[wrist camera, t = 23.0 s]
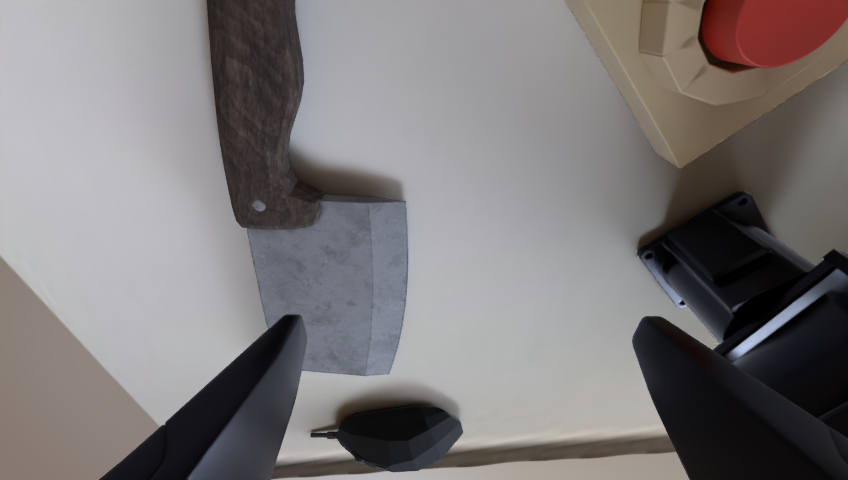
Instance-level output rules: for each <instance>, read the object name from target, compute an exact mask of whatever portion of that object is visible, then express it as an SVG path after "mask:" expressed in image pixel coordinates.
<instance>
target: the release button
mask: <svg viewBox="0 0 848 480" xmlns="http://www.w3.org/2000/svg"><path fill="white" fill-rule="evenodd" d="M847 18H848V0H708V2H707V5H706V8H705V11H704V15H703V21H702V35H703V40H704V43H705V45H706V47H707V49H708V50H709V51H710V52H711V54H712V55H714V56H715V57H717V58H719V59H721V60H724V61H728V62H733V63H739V64H744V65H749V66H754V67H760V68H775V67H780V66H784V65H787V64H790V63H793V62H795V61H798V60H800V59H801V58H803V57H805V56H807V55H809V54H810V53H812V52H813V51H815V50H816V49H817V48H819V47H820V46H822V45H823V44H824V43H825V42H826V41H827V40H829V39H830V38H831V37H832V36H833V35H834V34H835V33H836V32H837V31H838V29H839V28H840V27H841V26H842V25H843V24H844V22H845V21H846V20H847Z"/></svg>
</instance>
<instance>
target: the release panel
mask: <svg viewBox="0 0 848 480" xmlns="http://www.w3.org/2000/svg"><path fill="white" fill-rule="evenodd" d="M565 2H566V3H567V5H568V7H569V8H570V10H571V12H572V13H573V15H574V17H575V18H576V20H577V22H578V23H579V25H580V27H581V28H582V30H583V32H584V33H585V35H586V37H587V38H588V40H589V42H590V43H591V45H592V47H593V48H594V50H595V52H596V53H597V55H598V57H599V58H600V60H601V62H602V63H603V65H604V67H605V68H606V70H607V72H608V73H609V75H610V77H611V78H612V80H613V82H614V83H615V85H616V87H617V88H618V90H619V92H620V94H621V95H622V97H623V99H624V100H625V102H626V104H627V105H628V107H629V109H630V110H631V112H632V114H633V115H634V117H635V119H636V120H637V122H638V124H639V125H640V127H641V129H642V130H643V132H644V134H645V135H646V137H647V139H648V140H649V142H650V144H651V145H652V147H653V149H654V150H655V152H656V153H657V154H658V155H660V156H661V157H663V158H665V159H666V160H668V161H669V162H671V163H672V164H674V165H675V166H677V167H679V168H682V167H684V166H685V165H687V164H688V163H690V162H692V161H693V160H695V159H696V158H698V157H699V156H701V155H702V154H704V153H705V152H707V151H709V150H710V149H712V148H713V147H715V146H716V145H718V144H719V143H721V142H722V141H724V140H726V139H727V138H729V137H730V136H732V135H733V134H735V133H736V132H738V131H739V130H741V129H743V128H744V127H746V126H747V125H749V124H750V123H752V122H753V121H755V120H756V119H758V118H760V117H761V116H763V115H764V114H766V113H767V112H769V111H770V110H772V109H773V108H775V107H777V106H778V105H780V104H781V103H783V102H784V101H786V100H787V99H789V98H790V97H792V96H794V95H795V94H797V93H798V92H800V91H801V90H803V89H804V88H806V87H807V86H809V85H811V84H812V83H814V82H815V81H817V80H818V79H820V78H821V77H823V76H824V75H826V74H828V73H829V72H831V71H832V70H834V69H835V68H837V67H838V66H840V65H841V64H843V63H845V62H846V61H848V18H847V20H846V21H845V22H844V24H843V25H842V26H841V27H840V28H839V29H838V31H837V32H836V33H835V34H834V35H833V36H832V37H831V38H830V39H829V40H827V41H826V42H825V43H824V44H823V45H822V46H820V47H819V48H817V49H816V50H815V51H813V52H812V53H810V54H809V55H807V56H805V57H803V58H801V59H800V60H798V61H795V62H793V63H790V64H787V65H784V66H780V67H775V68H760V67H754V66H749V65H744V64H739V63H733V62H728V61H724V60H721V59H719V58H717V57H715V56H714V55H712V54H711V52H710V51H709V50H708V49H707V47H706V45H705V43H704V40H703V35H702V21H703V15H704V11H705V8H706V5H707V2H708V0H565Z"/></svg>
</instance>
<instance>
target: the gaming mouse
mask: <svg viewBox="0 0 848 480" xmlns="http://www.w3.org/2000/svg"><path fill="white" fill-rule="evenodd" d="M462 433H463V430H462V426H461V422H460V420H459V419H458V418H456V417H455V416H453V415H451V414H449V413H448V412H446V411H444V410H442V409H440V408H437V407H429V406H421V405H416V406H408V407H401V408H395V409H388V410H380V411H373V412H366V413H361V414H355V415H353V416H351V417H349V418H347V419H345V420H343V421H341V424H340V428H339V430H338V432H336V433H335V432H328V433H311V435H310V436H311V437H327V439H334V438H336V439H338V441H339V442H340V444H341V445H342V446H343V447H344V448H345V449H346V450H347V451H349V452H350V453H351V454H352V455H353V456H354V457H355V460H356V461H357V462H358V464H364V463H365V464H367V465H368V466H371V467H375V468H379V469H382V470H386V471H390V472H405V471H418V470H420V469H423V468H425V467H427V466H429V465H431V464H433V463H435V462H437V461H440V460H441V459H442V458H443V456H444V455H445V454H446V453H447V452H448V450H449V449H450V448H451V447H452V446H453V444H454V443H455V442H456V441H457V440H458V438H459V437H460V436H461V435H462Z"/></svg>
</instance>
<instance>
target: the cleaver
mask: <svg viewBox="0 0 848 480" xmlns="http://www.w3.org/2000/svg"><path fill="white" fill-rule="evenodd" d="M207 10H208V25H209V39H210V52H211V64H212V75H213V86H214V96H215V105H216V115H217V124H218V131H219V139H220V146H221V152H222V158H223V164H224V170H225V175H226V180H227V185H228V190H229V195H230V199H231V204H232V208H233V212H234V215H235V218H236V221H237V222H238V224H239V225H240V226H241V227H243V228H247V233H248V238H249V242H250V247H251V252H252V257H253V262H254V267H255V272H256V277H257V281H258V286H259V291H260V296H261V301H262V306H263V310H264V315H265V320H266V324H267V327H268V329H269V328H270V327H271V326H272V325H273V324H275V323H276V322H277V321H278V320H279V319H280V318H281V317H282V316H284V315H286V314H299V315H301V316H302V318H303V322H304V326H305V329H306V333H307V346H306V351H305V356H304V361H303V366H302V371H312V372H324V373H336V374H348V375H360V376H371V375H384V374H390V370H391V367H392V364H393V361H394V358H395V354H396V351H397V347H398V344H399V339H400V334H401V330H402V325H403V318H404V311H405V304H406V292H407V277H408V236H407V215H406V201H400V200H393V199H385V198H377V197H370V196H350V195H329V194H322V191H320V190H318V189H316V188H314V187H312V186H311V185H309V184H307V183H305V182H303V181H301V180H299V179H298V178H297V176H296V175H295V173H294V171H293V170H292V168H291V167H290V160H289V152H288V147H289V141H290V134H291V130H292V127H293V124H294V121H295V117H296V114H297V111H298V108H299V105H300V102H301V97H302V91H303V85H304V71H303V58H302V53H301V47H300V41H299V36H298V30H297V24H296V18H295V0H207Z"/></svg>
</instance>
